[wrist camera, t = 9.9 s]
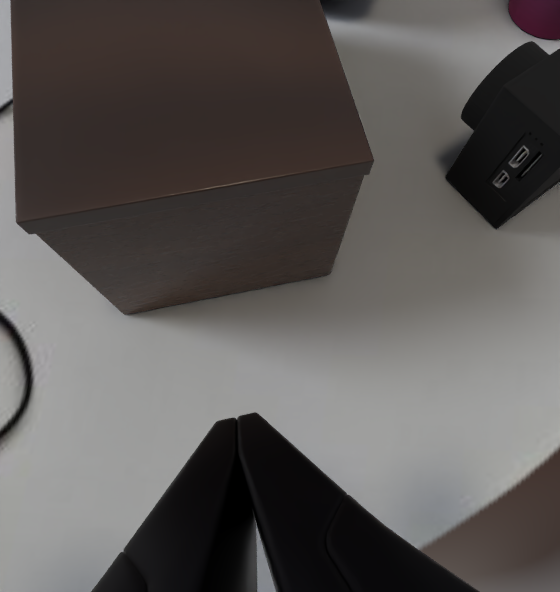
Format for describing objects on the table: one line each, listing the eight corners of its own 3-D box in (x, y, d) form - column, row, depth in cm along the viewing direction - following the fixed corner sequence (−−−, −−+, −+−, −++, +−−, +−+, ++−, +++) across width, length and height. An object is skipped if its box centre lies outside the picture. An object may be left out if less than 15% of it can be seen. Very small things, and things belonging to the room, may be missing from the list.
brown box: (332, 276, 23) (374, 160, 14) (122, 317, 22) (15, 223, 13) (264, 28, 29) (261, -172, 20) (94, 52, 28) (6, -146, 19)
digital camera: (547, 84, 28) (632, -28, 22) (614, 140, 27) (726, 40, 20) (429, 163, 26) (483, 66, 19) (495, 229, 25) (578, 149, 18)
